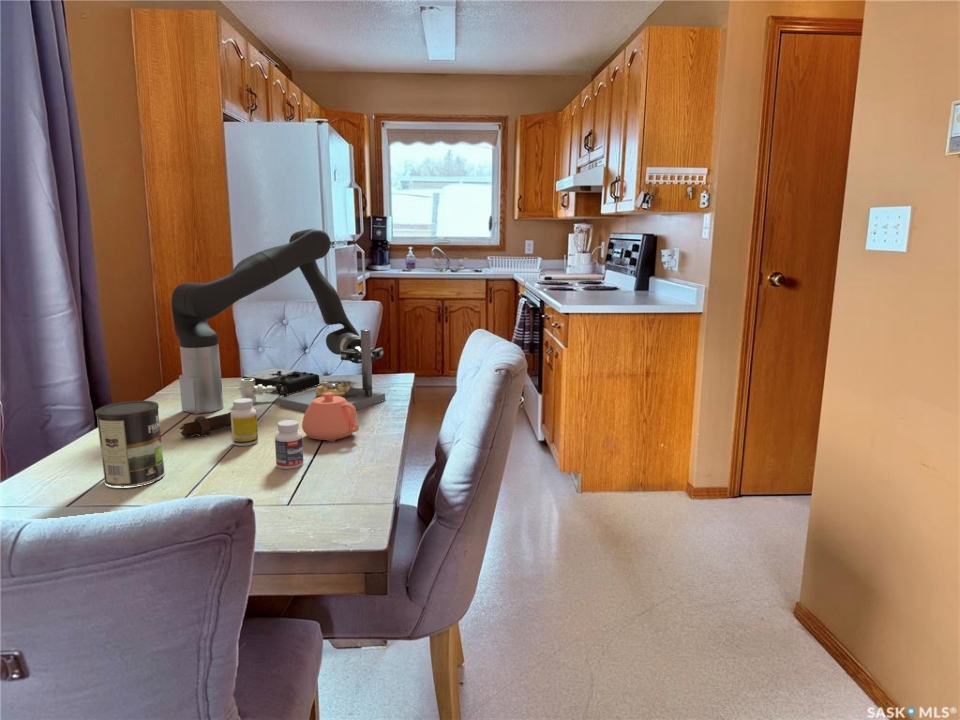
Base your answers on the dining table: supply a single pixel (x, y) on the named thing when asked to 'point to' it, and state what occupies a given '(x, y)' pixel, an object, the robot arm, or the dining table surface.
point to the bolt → (205, 425)
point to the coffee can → (130, 443)
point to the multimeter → (293, 379)
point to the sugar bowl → (329, 418)
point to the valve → (261, 388)
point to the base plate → (305, 398)
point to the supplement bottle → (244, 423)
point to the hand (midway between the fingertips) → (370, 359)
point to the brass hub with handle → (345, 390)
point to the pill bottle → (289, 445)
